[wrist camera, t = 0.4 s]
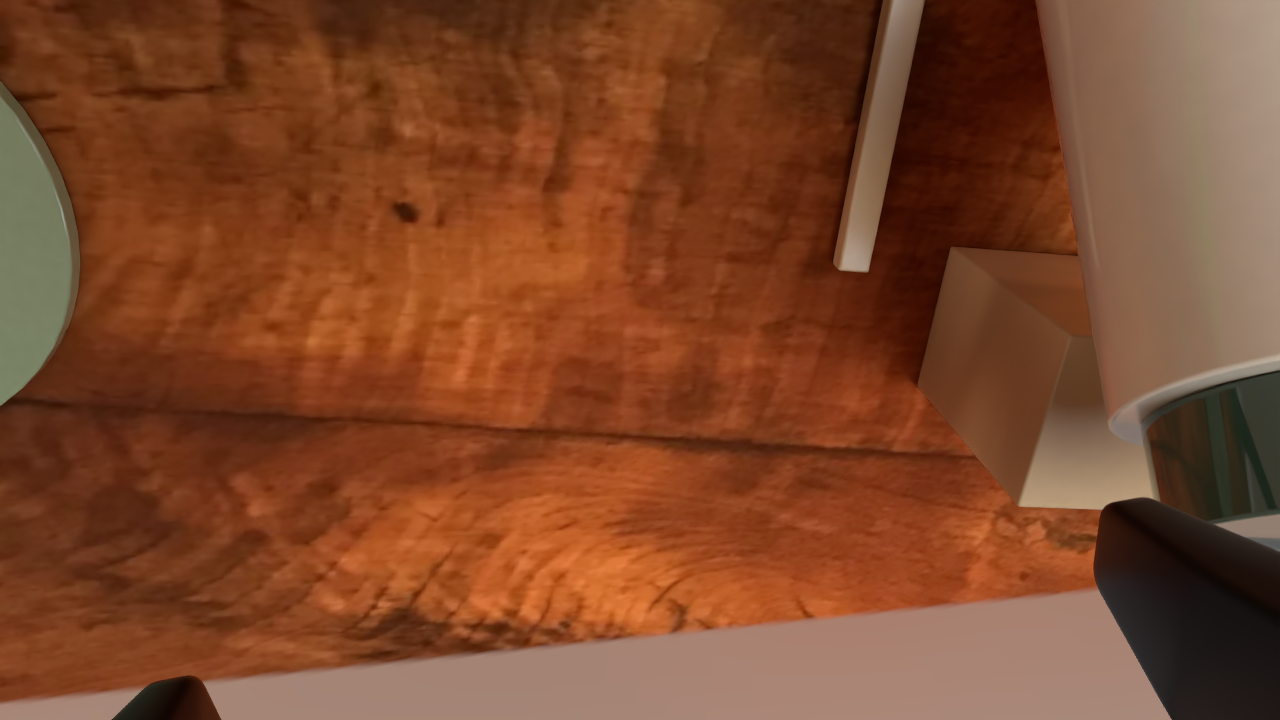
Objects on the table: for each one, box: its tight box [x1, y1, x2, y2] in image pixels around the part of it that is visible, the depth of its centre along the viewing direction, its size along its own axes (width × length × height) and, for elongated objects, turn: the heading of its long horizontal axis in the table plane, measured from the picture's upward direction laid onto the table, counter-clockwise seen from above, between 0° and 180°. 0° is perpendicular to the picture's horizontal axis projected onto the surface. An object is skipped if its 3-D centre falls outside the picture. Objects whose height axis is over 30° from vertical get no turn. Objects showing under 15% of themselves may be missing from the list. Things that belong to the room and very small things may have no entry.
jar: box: [1035, 0, 1280, 551], centre depth 16 cm, size 13×6×13 cm, turn 174°
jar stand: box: [833, 0, 1153, 510], centre depth 20 cm, size 13×10×6 cm
